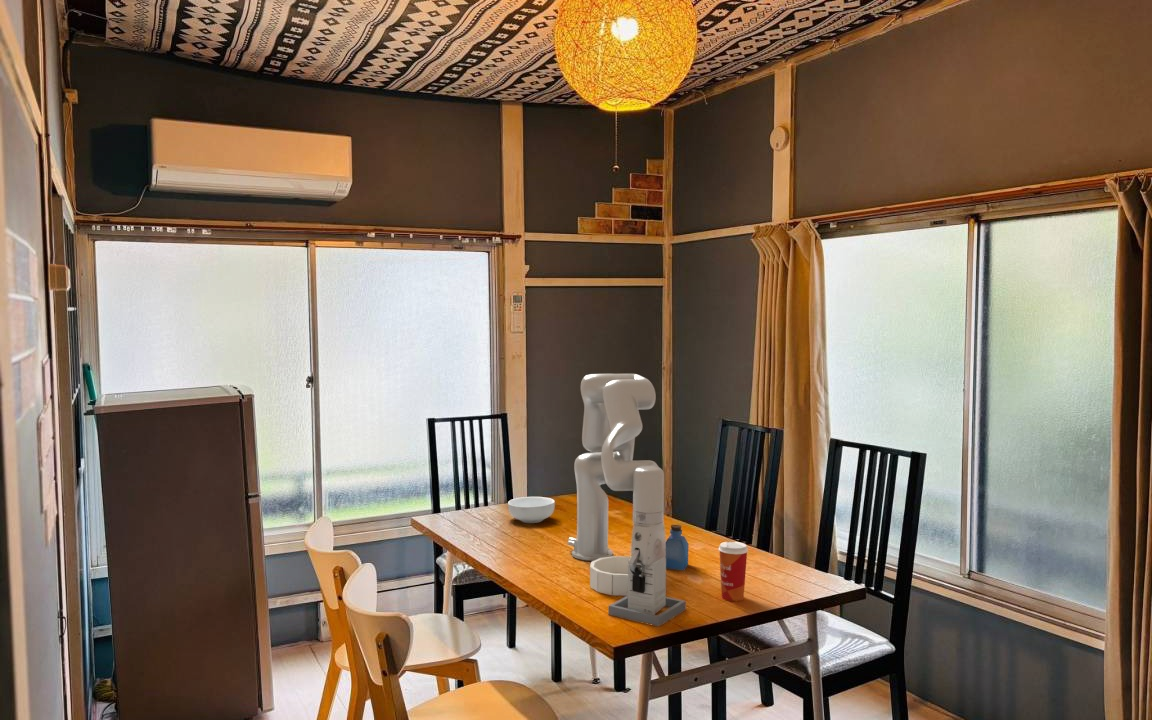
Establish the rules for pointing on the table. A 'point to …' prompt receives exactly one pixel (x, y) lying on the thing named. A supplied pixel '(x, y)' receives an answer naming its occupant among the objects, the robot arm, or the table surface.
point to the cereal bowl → (531, 508)
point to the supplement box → (649, 588)
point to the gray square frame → (621, 611)
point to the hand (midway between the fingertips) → (646, 586)
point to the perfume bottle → (676, 549)
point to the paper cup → (733, 570)
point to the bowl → (610, 575)
